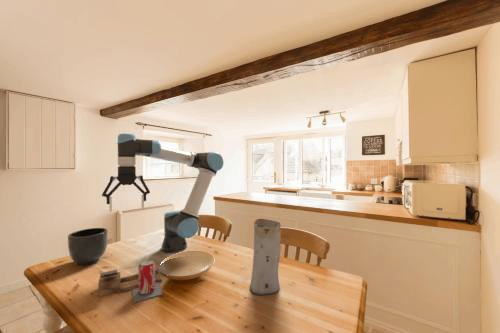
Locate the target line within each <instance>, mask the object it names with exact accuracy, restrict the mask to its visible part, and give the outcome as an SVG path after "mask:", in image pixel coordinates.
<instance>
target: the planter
mask: <svg viewBox="0 0 500 333" xmlns="http://www.w3.org/2000/svg"><path fill="white" fill-rule="evenodd" d="M107 247H108V229H107V228H105V227H93V228H84V229H80V230H76V231H74V232H71V233H69V234H68V236H67V248H68V253H69V256H70V259H71V260H72V261H73V262H75V263H77V264H78V265H80V266H88V265H92V264H95V263H97V262H98V261H99V260H100V258H102V256H103V255H104V254H105V252H106V249H107Z"/></svg>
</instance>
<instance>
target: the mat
mask: <svg viewBox="0 0 500 333" xmlns="http://www.w3.org/2000/svg"><path fill="white" fill-rule="evenodd" d="M159 283H160V282H159ZM159 283H155V290H154V291H152V292H151V293H149V294H140V293H139V287H138V288H135V289H132V298H133V304H135V303H138V302H143V301H145V300H149V299H153V298H156V297H159V296H162V295H163V293H162V290H161V287H160V284H159Z"/></svg>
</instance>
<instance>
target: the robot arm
mask: <svg viewBox="0 0 500 333" xmlns="http://www.w3.org/2000/svg"><path fill="white" fill-rule="evenodd" d="M161 145H162V144H161V142H160V141H159V140H154V139H140V138H136V135H135V134H133V133H120V134H118V136H117V165H118V167H117V176H114V175H111V176H110V177H109V182H108V183H107V185H106V187H105V188H104V190H103V192H102V194H101V197H104V198H106V205H109V212H112V210H113V206H112V204H113V200H112V195H113V193H114V192H116V190H118V188H119V187H120V186H127V185H128V186H131V185H133V186H135V187H136V189H137V190H138V191H140V193H142V194H141V209H144V208H145V205H144V203H145V202H146V201H147V195H149V194H150V193H151V191H150V189H149V188H148V186H147V184H146V183H145V181H144V176H143V175H137V173H136V163H137V162H136V161H137V160H136V159H137V158H136V156H137V157H138V156H142V157H147V158H152V159H157V160H162V161H167V162H168V161H169V162H173V163H177V164H183V165H186V166H188V167H190V168H193V169H198V175H197V177H196V179H195V182H194V184H193V186H192V189H191V192H190V194H189V195H188V198H187V201H186V203H185V205H184V208H183V209H180V210H173V211H169V212H166V213H165V214H164V215H163V216H164V218H163V224H164V227H163V228H164V238H163V241H162V244H161V252H163V253H177V252H181V251H184V250H186V249H187V247H188V242H187V239H191V238H192V237H194V236H195V235H196V234H197V233H198V232H199V228H200V224H199V219H200V216H199V211H200V210H201V208H202V207H201V206H202V204H203V201H204V199H205V197H206V194H207V192H208V188H209V187H210V184H211V182H212V179H213V177H216V175H217V172H219V171H221V169H223V166H224V159H223V156H222V155H221V154H220V153H219V152H217V151H210V152H209V151H208V152H193V151H191V152H186V151H182V150H178V149H173V148H168V147H166V146H165V147H164V146H161ZM116 180H117V181H118V182H117V183H116V185H114V187H113V188H112V189H111V190H110V191H109V192H108V190H109V189H110V188H111V186H112V184H113V182H115V181H116ZM136 180H139V181H140V182H141V184H142V186H143V188H144V189H145V191H144V189H143V188H141V187H140V185H139V184H138V183H136ZM107 192H108V193H107Z"/></svg>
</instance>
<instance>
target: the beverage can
mask: <svg viewBox="0 0 500 333" xmlns="http://www.w3.org/2000/svg"><path fill="white" fill-rule="evenodd" d="M137 270H138V273H137V274H138V278H137V279H138V283H139V293H140V294H149V293H151V292H152V291H154V290H155V279H156V274H155V270H156V263H155V262H154V260H153V259H145V260H142V261H141V262H140V263H139V265H138V269H137Z"/></svg>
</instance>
